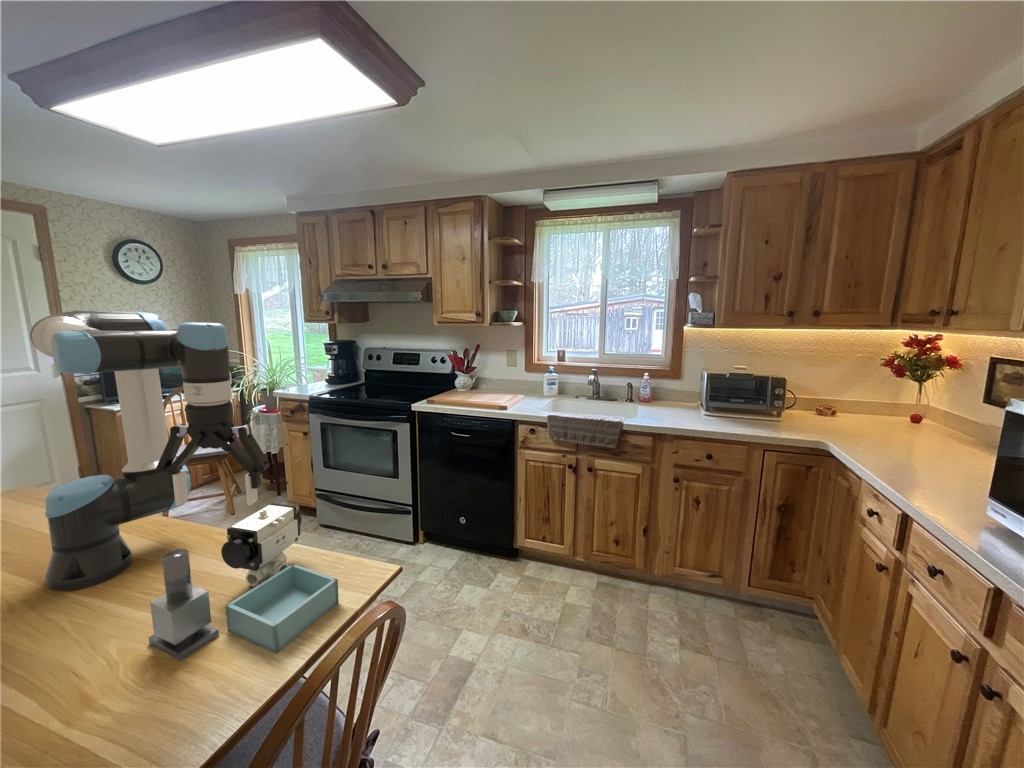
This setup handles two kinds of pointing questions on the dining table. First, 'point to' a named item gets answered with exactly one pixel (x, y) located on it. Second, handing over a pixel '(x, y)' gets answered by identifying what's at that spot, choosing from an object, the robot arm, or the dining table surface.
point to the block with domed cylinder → (179, 601)
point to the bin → (282, 607)
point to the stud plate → (185, 643)
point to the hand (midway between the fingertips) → (217, 502)
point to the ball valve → (262, 542)
